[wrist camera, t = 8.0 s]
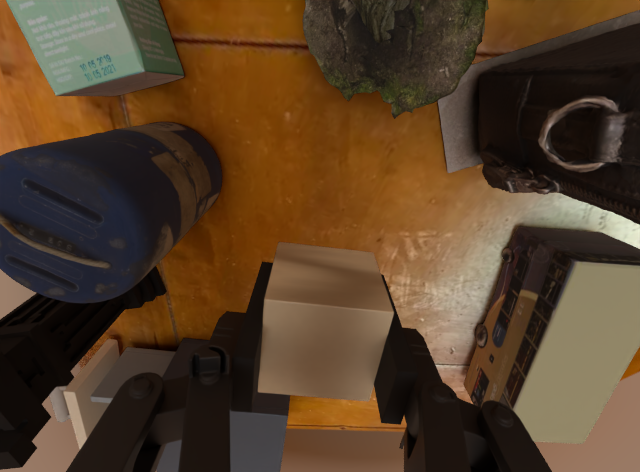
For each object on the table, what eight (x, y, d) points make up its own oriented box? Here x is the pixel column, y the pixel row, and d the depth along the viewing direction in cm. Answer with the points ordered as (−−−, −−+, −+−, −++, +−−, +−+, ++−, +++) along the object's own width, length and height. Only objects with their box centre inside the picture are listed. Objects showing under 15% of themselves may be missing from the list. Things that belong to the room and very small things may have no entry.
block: (272, 318, 19) (257, 392, 14) (278, 241, 16) (263, 299, 12) (356, 326, 19) (369, 401, 14) (373, 251, 17) (394, 312, 12)
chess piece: (104, 299, 39) (-82, 482, 21) (73, 242, 36) (-180, 398, 18) (166, 291, 39) (31, 470, 21) (140, 231, 35) (-48, 382, 17)
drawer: (87, 397, 45) (44, 454, 38) (72, 335, 40) (20, 387, 33) (214, 408, 46) (195, 466, 39) (214, 349, 41) (192, 403, 34)
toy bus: (457, 377, 44) (493, 449, 35) (506, 220, 36) (573, 261, 26) (527, 381, 45) (581, 454, 35) (593, 227, 36) (689, 269, 27)
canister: (189, 229, 35) (76, 351, 19) (112, 168, 32) (-98, 249, 16) (245, 169, 32) (170, 252, 16) (167, 96, 30) (-21, 107, 13)
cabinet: (187, 403, 47) (156, 474, 38) (183, 337, 42) (147, 403, 33) (285, 412, 48) (278, 484, 39) (294, 349, 43) (287, 416, 34)
